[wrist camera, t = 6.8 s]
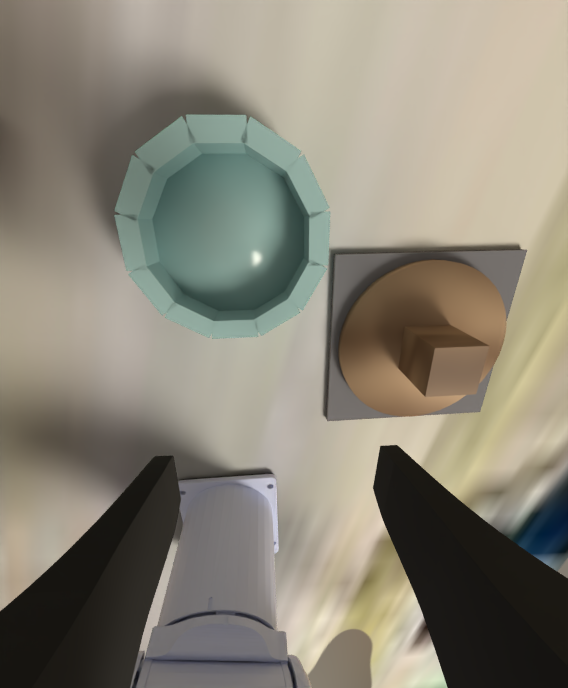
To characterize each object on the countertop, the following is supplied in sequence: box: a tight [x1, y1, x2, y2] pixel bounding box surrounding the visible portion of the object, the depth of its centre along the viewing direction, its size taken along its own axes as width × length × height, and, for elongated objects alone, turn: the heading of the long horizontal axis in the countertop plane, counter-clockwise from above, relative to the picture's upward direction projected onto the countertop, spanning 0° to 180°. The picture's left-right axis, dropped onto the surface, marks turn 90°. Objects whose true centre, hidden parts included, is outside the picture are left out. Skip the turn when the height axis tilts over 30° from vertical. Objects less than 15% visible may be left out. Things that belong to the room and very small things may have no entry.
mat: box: [326, 249, 527, 421], centre depth 20 cm, size 12×12×1 cm
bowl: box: [114, 115, 330, 339], centre depth 15 cm, size 10×10×3 cm
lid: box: [338, 259, 506, 416], centre depth 18 cm, size 11×11×4 cm
